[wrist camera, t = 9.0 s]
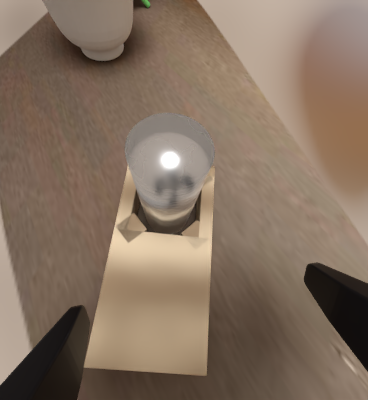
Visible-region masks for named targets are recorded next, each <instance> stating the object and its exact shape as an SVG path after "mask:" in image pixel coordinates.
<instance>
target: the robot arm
mask: <svg viewBox="0 0 368 400" xmlns="http://www.w3.org/2000/svg"><path fill="white" fill-rule="evenodd" d="M304 282H305V285H306V286H307V288H308V289H309V291H310V292H311V294H312V296H313V297H314V299H315V300H316V302H317V303H318V305H319V306H320V308H321V309H322V311H323V313H324V314H325V316H326V317H327V319H328V320H329V321H330V323H331V324H332V325H333V327H334V328H335V329H336V331H337V332H338V333H339V335H340V336H341V337H342V339H343V340H344V341H345V343H346V344H347V345H348V346H349V348H350V349H351V350H352V352H353V353H354V354H355V356H356V357H357V358H358V359H359V361H360V362H361V363H362V365H363V366H364V367H365V369H366V370H367V371H368V283H365V282H363V281H361V280H358V279H356V278H354V277H351V276H349V275H346V274H344V273H342V272H339V271H337V270H335V269H332V268H330V267H328V266H325V265H323V264H320V263H311V264H308V265H307V267H306V271H305V276H304ZM89 327H90V322H89V318H88V315H87V312H86V309H85V307H84V306H83V305H79V306H74V307H71V308H70V309H69V310H68V311H67V312H66V313H65V314H64V315H63V316H62V317H61V319H60V320H59V321H58V322H57V323H56V324H55V325H54V326H53V327H52V329H51V330H50V331H49V332H48V333H47V334H46V335H45V336H44V337H43V338H42V340H41V341H40V342H39V343H38V344H37V345H36V346H35V347H34V348H33V350H32V351H31V352H30V353H29V354H28V355H27V356H26V357H25V358H24V360H23V361H22V362H21V363H20V364H19V365H18V366H17V367H16V369H15V370H14V371H13V372H12V373H11V374H10V375H9V376H8V377H7V379H6V380H5V381H4V382H3V383H2V384H1V385H0V400H77V397H78V393H79V389H80V384H81V380H82V375H83V369H84V362H85V355H86V348H87V341H88V334H89Z"/></svg>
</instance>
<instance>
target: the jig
mask: <svg viewBox="0 0 368 400" xmlns="http://www.w3.org/2000/svg"><path fill="white" fill-rule="evenodd" d="M214 171H215V167H213V166H211V168H210V171H209V173H208V175H207V178H206V180H205V182H204V184H203V187H202V189H201V191H200V194H199V196H198V198H197V204H196V218H195V222H194V223H193V224H192V225H191V226H189V227H188V228H187V229H186V230H184V231H183V232H182V233H181V235H171V234H161V233H152V232H148V231H147V229H146V228H145V226H144V225H143V224H142V223H141V221H140V220H139V219H138V217H137V214H138V208H139V203H140V199H139V196H138V193H137V190H136V187H135V184H134V181H133V178H132V175H131V172H130V169H129V166H128V168H127V173H126V177H125V182H124V187H123V191H122V196H121V200H120V205H119V209H118V214H117V218H116V223H115V227H114V232H113V237H112V241H111V246H110V250H109V255H108V259H107V264H106V268H105V273H104V277H103V282H102V287H101V291H100V296H99V300H98V305H97V309H96V314H95V318H94V323H93V327H92V332H91V336H90V341H89V346H88V350H87V355H86V359H85V364H84V368H98V369H113V370H127V371H142V372H157V373H171V374H186V375H200V376H207V351H208V326H209V300H210V274H211V248H212V222H213V197H214Z"/></svg>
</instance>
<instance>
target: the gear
mask: <svg viewBox="0 0 368 400" xmlns="http://www.w3.org/2000/svg"><path fill="white" fill-rule="evenodd" d="M141 1H142V2H143V3H144V5H145V6H146V7H147V8H148V7H149V6H150V3H149V1H148V0H141Z"/></svg>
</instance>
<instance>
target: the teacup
mask: <svg viewBox="0 0 368 400" xmlns="http://www.w3.org/2000/svg"><path fill="white" fill-rule="evenodd" d="M43 2H44V4H45V6H46V8H47V9H48V11H49V13H50V15H51V17H52V18H53V20H54V22H55V23H56V25H57V26H58V28H59V29H60V31H61V32H62V33H63V35H64V36H65V37H66V38H67V39H68V40H69V41H71V42H72V43H73V44H75V45H76V46H78V47H81V50H82V52H83V53H84V54H85V55H86V56H87V57H89V58H90V59H93V60H97V61H108V60H112V59H115V58H117V57H118V56H120V55H121V53H122V52H123V50H124V44H123V43H124V42H125V41H126V40H127V38H128V37H129V35H130V32H131V29H132V24H133V0H43Z"/></svg>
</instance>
